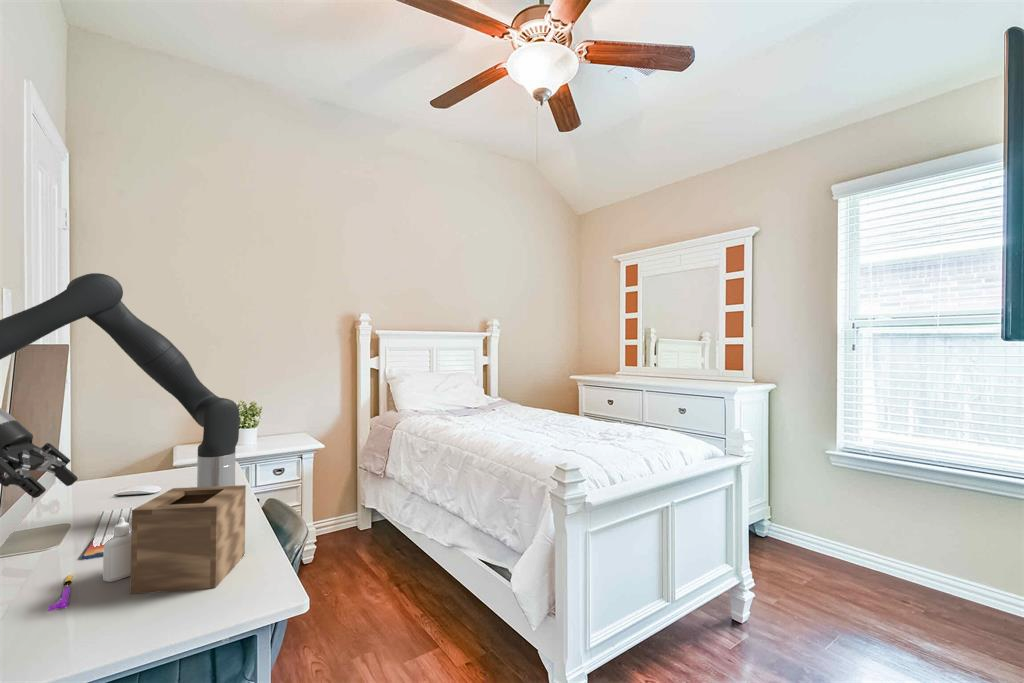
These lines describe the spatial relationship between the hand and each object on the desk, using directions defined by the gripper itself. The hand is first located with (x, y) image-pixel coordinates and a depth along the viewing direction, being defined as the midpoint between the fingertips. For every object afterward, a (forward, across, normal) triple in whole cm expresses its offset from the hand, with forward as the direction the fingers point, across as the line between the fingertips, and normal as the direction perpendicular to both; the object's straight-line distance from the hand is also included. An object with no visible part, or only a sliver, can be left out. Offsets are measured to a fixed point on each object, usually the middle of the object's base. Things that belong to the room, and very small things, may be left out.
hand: (57, 488), depth 97 cm
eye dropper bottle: (+22, 0, +5) cm, 22 cm away
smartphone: (+13, +18, +14) cm, 26 cm away
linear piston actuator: (+17, -6, +10) cm, 21 cm away
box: (+31, -1, -5) cm, 32 cm away
